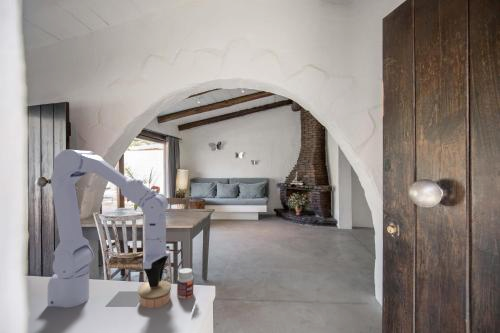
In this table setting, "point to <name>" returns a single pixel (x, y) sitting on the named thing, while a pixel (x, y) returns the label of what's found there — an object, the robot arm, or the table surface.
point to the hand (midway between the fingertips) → (155, 283)
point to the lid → (154, 289)
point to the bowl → (154, 301)
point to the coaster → (125, 299)
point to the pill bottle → (185, 283)
